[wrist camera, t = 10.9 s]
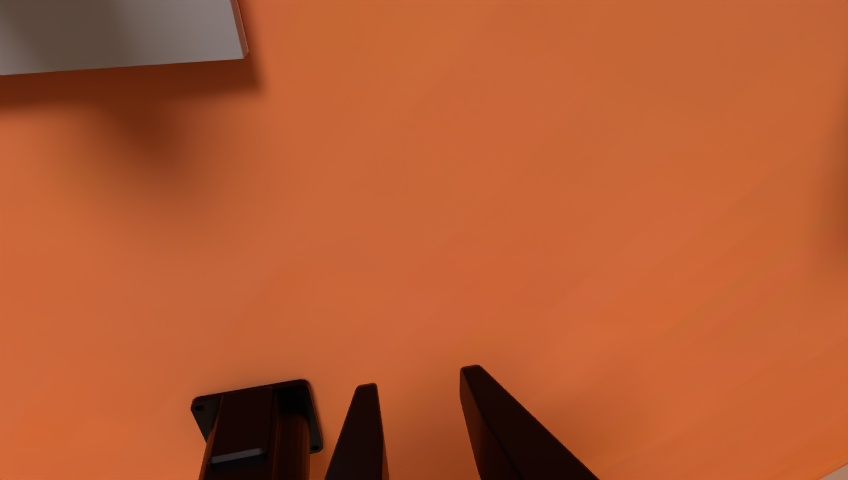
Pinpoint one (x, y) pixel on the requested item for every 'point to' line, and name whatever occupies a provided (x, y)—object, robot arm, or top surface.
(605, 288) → the top surface
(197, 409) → the robot arm
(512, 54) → the top surface
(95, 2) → the socket
